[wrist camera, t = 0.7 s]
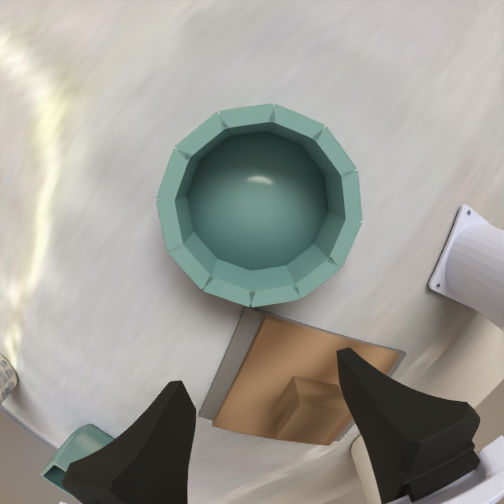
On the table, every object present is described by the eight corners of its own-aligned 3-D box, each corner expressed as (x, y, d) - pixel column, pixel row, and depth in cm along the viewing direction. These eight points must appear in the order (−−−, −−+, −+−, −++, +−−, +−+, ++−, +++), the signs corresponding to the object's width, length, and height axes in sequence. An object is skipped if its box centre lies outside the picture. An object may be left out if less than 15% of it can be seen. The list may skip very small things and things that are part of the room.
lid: (395, 351, 23) (416, 379, 19) (327, 440, 26) (336, 469, 22) (264, 313, 21) (269, 345, 17) (213, 420, 24) (210, 453, 20)
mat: (404, 351, 23) (406, 354, 23) (338, 438, 27) (338, 441, 26) (245, 305, 21) (246, 307, 21) (198, 413, 25) (198, 416, 24)
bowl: (358, 159, 19) (387, 157, 14) (299, 297, 21) (311, 327, 17) (211, 99, 17) (202, 79, 13) (158, 246, 20) (137, 266, 16)
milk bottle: (346, 461, 28) (382, 584, 9) (352, 428, 26) (404, 576, 7) (399, 444, 28) (449, 555, 9) (412, 410, 26) (481, 535, 7)
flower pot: (63, 430, 26) (38, 475, 18) (81, 406, 25) (51, 462, 16) (116, 464, 28) (100, 512, 20) (144, 447, 27) (127, 505, 18)
